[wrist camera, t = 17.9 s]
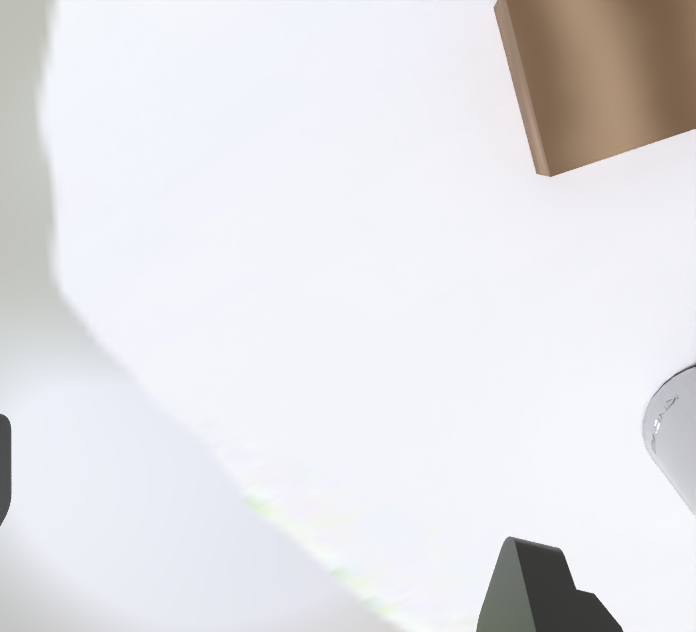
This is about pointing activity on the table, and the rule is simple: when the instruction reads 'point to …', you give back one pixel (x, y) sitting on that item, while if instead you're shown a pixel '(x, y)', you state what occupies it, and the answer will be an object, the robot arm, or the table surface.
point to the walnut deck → (599, 75)
